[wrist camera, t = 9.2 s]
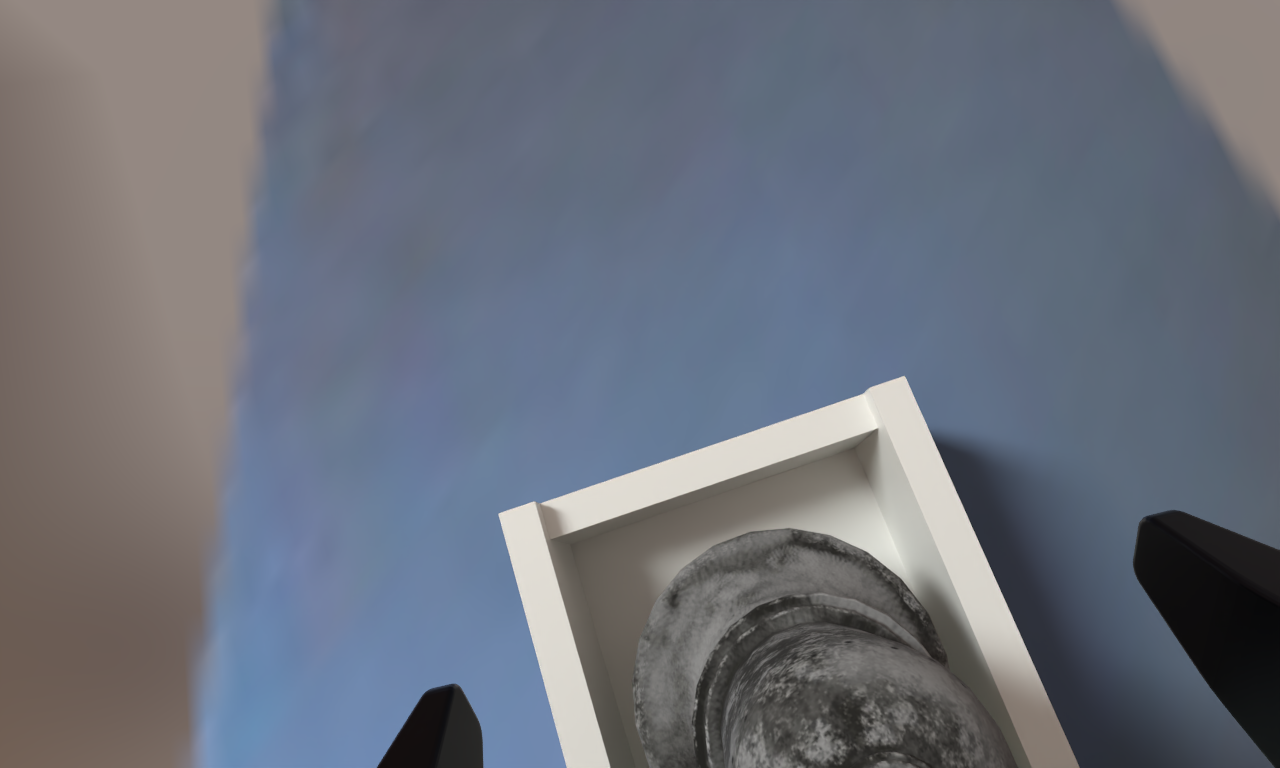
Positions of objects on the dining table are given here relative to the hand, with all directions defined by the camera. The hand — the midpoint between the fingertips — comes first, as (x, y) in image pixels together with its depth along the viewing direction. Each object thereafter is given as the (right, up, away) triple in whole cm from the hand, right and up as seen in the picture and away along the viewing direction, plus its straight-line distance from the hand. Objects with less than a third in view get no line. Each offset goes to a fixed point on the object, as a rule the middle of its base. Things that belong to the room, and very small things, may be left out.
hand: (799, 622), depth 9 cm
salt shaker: (+1, -4, +8) cm, 8 cm away
